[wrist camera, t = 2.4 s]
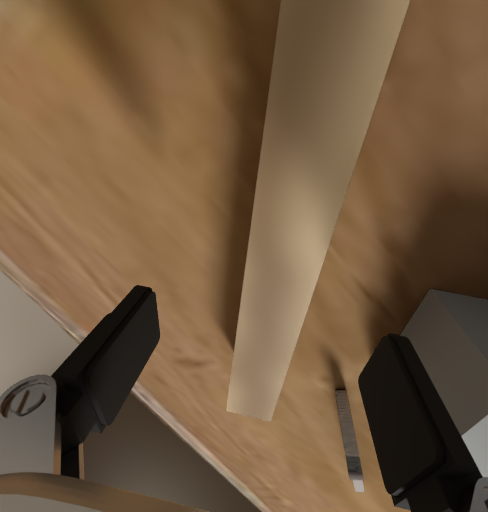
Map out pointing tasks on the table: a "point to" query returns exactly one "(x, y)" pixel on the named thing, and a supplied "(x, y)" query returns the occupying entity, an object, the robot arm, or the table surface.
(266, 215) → the oak batten
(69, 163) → the table surface
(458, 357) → the notched block
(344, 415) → the caliper
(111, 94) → the table surface
